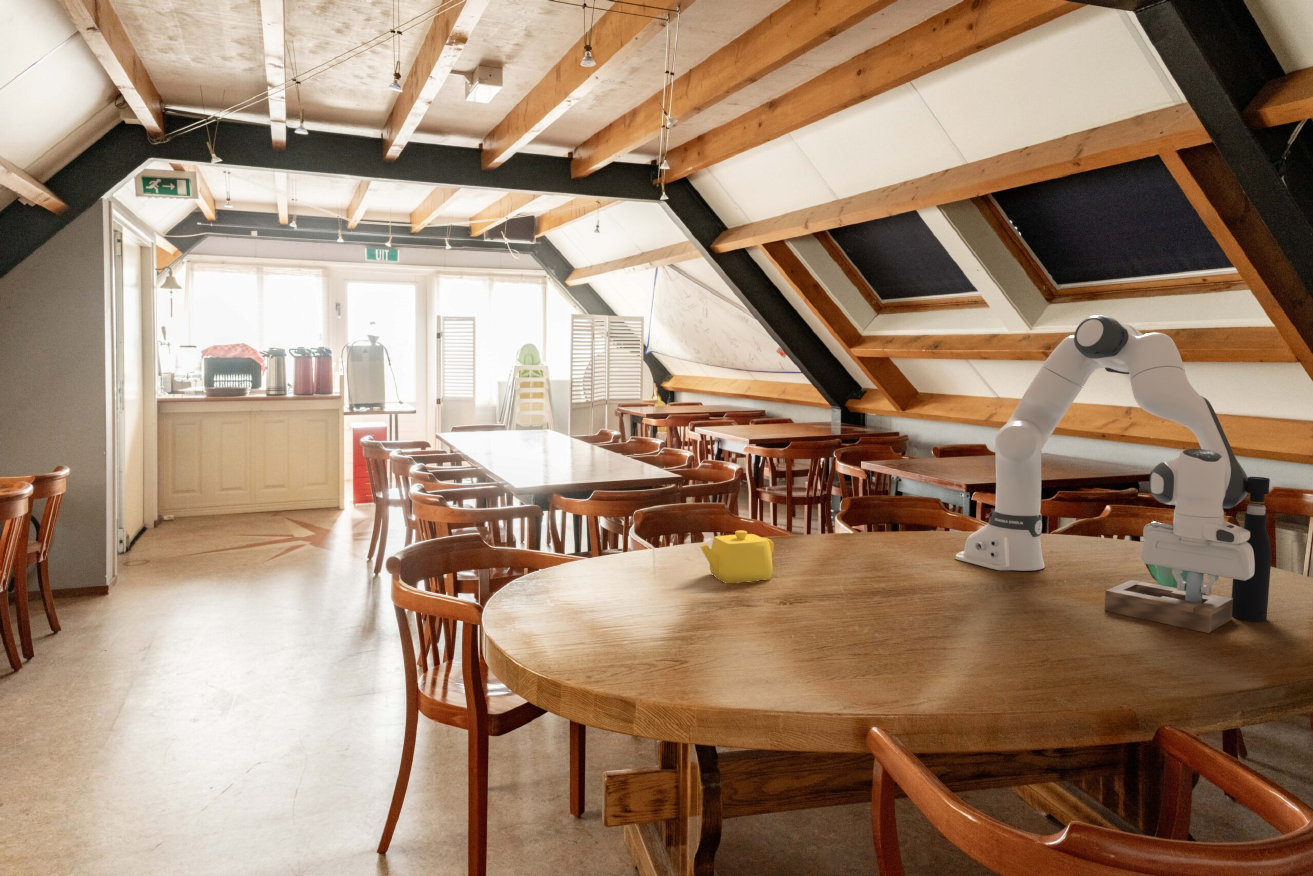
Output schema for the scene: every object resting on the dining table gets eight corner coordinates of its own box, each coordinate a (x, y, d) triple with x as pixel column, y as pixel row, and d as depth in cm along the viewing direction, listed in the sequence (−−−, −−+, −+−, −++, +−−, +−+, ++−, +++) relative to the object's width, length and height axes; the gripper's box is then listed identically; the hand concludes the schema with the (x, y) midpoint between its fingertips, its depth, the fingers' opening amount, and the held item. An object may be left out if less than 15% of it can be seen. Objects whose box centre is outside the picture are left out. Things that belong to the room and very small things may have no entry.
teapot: (709, 586, 205) (710, 538, 204) (691, 574, 217) (691, 529, 216) (784, 580, 212) (784, 533, 211) (762, 568, 223) (762, 524, 222)
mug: (1211, 598, 195) (1214, 555, 194) (1174, 600, 193) (1177, 557, 192) (1162, 582, 210) (1164, 542, 209) (1127, 584, 208) (1129, 544, 207)
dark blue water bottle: (1256, 623, 177) (1266, 480, 174) (1223, 615, 182) (1233, 476, 180) (1273, 619, 180) (1284, 478, 177) (1240, 611, 185) (1250, 475, 182)
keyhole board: (1104, 610, 186) (1105, 590, 185) (1130, 599, 195) (1131, 579, 194) (1208, 633, 171) (1210, 611, 170) (1231, 619, 180) (1233, 598, 179)
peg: (1172, 616, 180) (1175, 560, 178) (1183, 611, 183) (1186, 556, 182) (1202, 622, 175) (1205, 565, 174) (1212, 617, 179) (1216, 561, 177)
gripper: (1138, 522, 183) (1134, 585, 184) (1249, 537, 168) (1245, 605, 169) (1149, 518, 187) (1146, 580, 188) (1259, 533, 172) (1255, 600, 173)
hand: (1193, 592), depth 178 cm, fingers closed on peg, 3 cm apart
